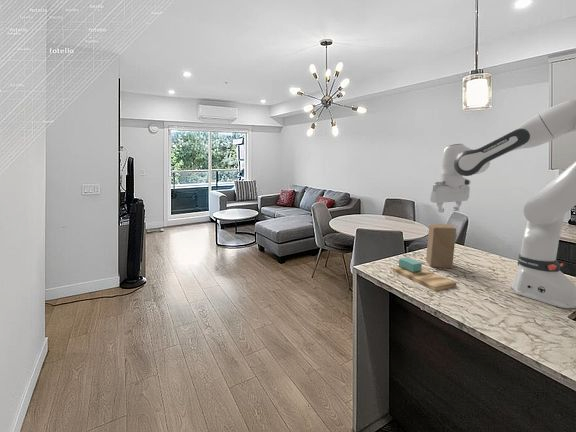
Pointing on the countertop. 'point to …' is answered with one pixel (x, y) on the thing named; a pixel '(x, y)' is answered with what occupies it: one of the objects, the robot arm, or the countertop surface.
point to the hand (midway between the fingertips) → (448, 211)
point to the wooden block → (441, 245)
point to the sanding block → (410, 265)
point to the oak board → (426, 278)
